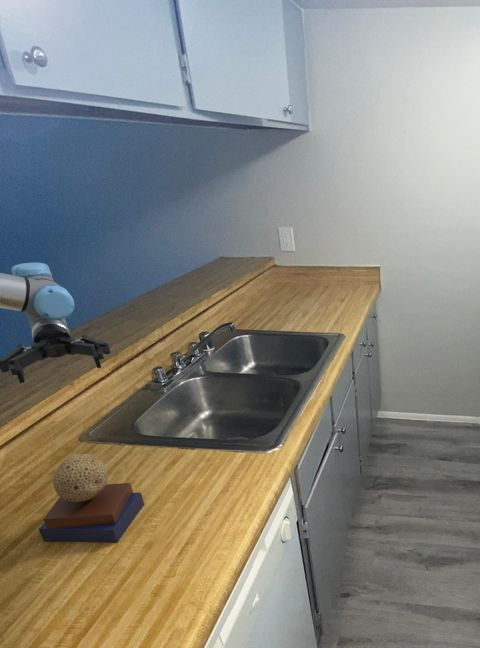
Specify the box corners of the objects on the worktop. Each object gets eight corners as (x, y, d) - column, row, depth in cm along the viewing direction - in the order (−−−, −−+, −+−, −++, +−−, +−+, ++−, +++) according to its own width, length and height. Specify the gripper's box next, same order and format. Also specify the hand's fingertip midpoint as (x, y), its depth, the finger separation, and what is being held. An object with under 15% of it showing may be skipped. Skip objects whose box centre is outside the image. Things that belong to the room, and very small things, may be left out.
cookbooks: (43, 541, 90) (33, 519, 88) (78, 502, 100) (70, 481, 98) (117, 542, 91) (109, 520, 88) (144, 504, 101) (138, 482, 98)
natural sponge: (115, 506, 92) (101, 465, 87) (60, 521, 87) (43, 479, 83) (113, 480, 98) (100, 440, 94) (62, 493, 94) (46, 452, 90)
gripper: (114, 342, 122) (130, 372, 107) (-8, 363, 108) (-9, 400, 94) (107, 315, 119) (123, 341, 104) (-21, 332, 105) (-24, 365, 90)
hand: (60, 369), depth 99 cm, fingers open, 13 cm apart
